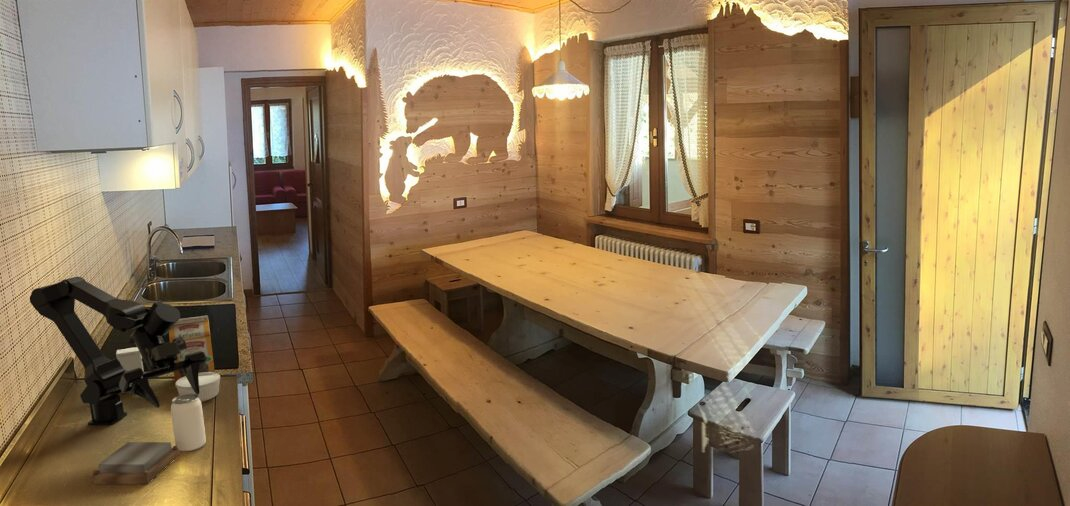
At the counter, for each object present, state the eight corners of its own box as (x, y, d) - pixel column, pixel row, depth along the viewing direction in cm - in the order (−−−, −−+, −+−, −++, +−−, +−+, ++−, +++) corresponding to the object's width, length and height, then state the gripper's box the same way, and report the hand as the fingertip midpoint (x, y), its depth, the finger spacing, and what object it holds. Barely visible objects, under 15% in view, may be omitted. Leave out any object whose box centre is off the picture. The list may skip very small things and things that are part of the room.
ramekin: (224, 386, 196) (222, 369, 195) (219, 401, 185) (217, 383, 184) (181, 392, 192) (179, 374, 191) (174, 407, 182) (172, 389, 181)
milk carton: (214, 370, 209) (207, 311, 205) (215, 381, 199) (208, 320, 196) (176, 376, 204) (168, 316, 200) (175, 388, 195) (167, 325, 191)
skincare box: (120, 394, 191) (115, 354, 189) (122, 388, 195) (116, 349, 193) (145, 389, 194) (139, 350, 192) (146, 384, 198) (140, 346, 195)
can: (193, 453, 156) (187, 405, 153) (169, 451, 157) (163, 403, 155) (212, 440, 162) (206, 394, 160) (188, 438, 163) (182, 392, 161)
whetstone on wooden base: (93, 483, 143) (90, 466, 143) (128, 456, 155) (126, 440, 154) (147, 484, 143) (145, 466, 142) (179, 456, 155) (177, 440, 154)
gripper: (116, 339, 153) (144, 396, 148) (198, 319, 167) (226, 370, 162) (108, 365, 159) (134, 420, 154) (188, 343, 173) (214, 393, 169)
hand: (179, 400), depth 160 cm, fingers open, 9 cm apart
